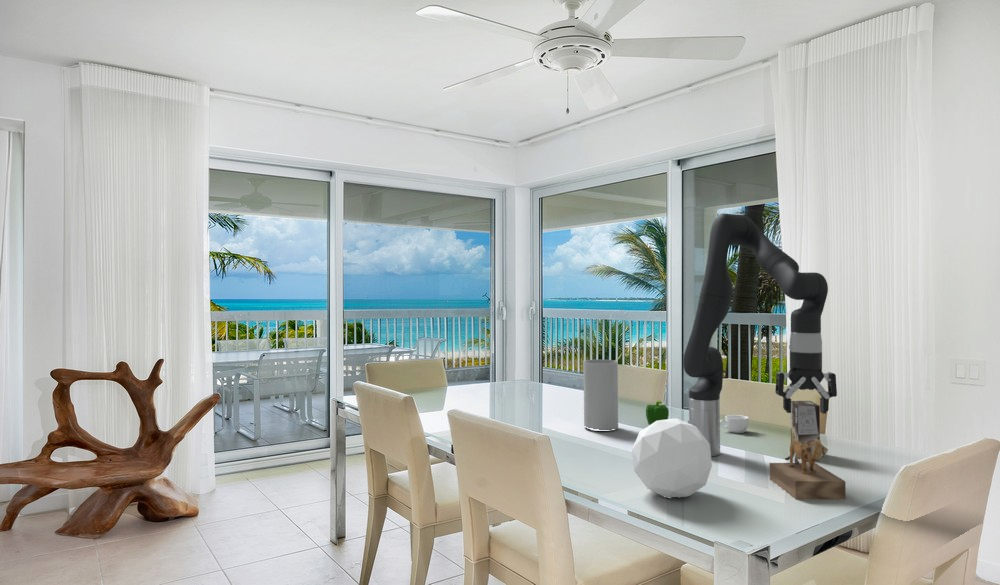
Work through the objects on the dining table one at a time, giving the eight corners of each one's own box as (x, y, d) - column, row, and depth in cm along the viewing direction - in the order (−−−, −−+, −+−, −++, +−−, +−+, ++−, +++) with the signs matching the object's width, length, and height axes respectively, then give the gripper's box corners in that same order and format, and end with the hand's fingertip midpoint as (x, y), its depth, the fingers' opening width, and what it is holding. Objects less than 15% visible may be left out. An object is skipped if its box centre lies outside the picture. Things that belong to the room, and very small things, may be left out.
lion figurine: (831, 476, 156) (830, 440, 156) (812, 478, 155) (812, 442, 155) (793, 460, 170) (792, 427, 170) (775, 462, 169) (775, 429, 169)
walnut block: (795, 501, 152) (795, 481, 152) (769, 481, 168) (769, 462, 168) (845, 501, 152) (845, 481, 152) (815, 481, 168) (814, 462, 168)
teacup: (744, 429, 227) (743, 414, 227) (752, 434, 219) (751, 419, 219) (716, 429, 227) (716, 414, 227) (723, 434, 220) (723, 419, 220)
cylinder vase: (621, 432, 225) (620, 363, 225) (586, 432, 225) (585, 363, 225) (615, 424, 237) (614, 359, 237) (582, 425, 238) (581, 359, 237)
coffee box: (821, 459, 187) (820, 405, 187) (797, 458, 188) (797, 405, 188) (812, 451, 196) (811, 400, 196) (790, 450, 197) (789, 399, 197)
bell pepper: (645, 423, 238) (644, 397, 238) (667, 424, 237) (666, 398, 237) (647, 428, 230) (646, 401, 230) (670, 429, 229) (669, 402, 229)
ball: (675, 529, 152) (654, 477, 142) (629, 479, 169) (608, 429, 159) (736, 486, 155) (720, 432, 145) (685, 441, 172) (668, 390, 162)
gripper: (781, 351, 157) (781, 415, 158) (841, 351, 156) (841, 416, 156) (772, 348, 165) (772, 409, 165) (829, 348, 163) (829, 410, 163)
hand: (805, 412), depth 160 cm, fingers open, 8 cm apart
